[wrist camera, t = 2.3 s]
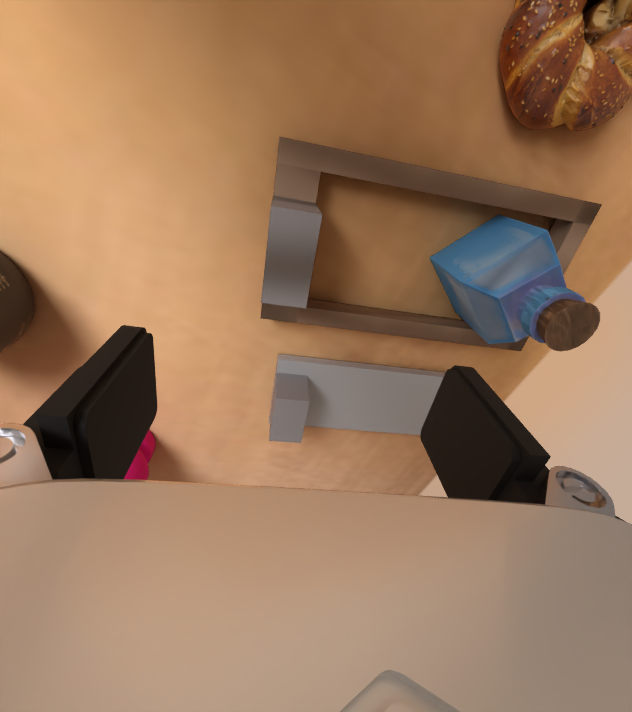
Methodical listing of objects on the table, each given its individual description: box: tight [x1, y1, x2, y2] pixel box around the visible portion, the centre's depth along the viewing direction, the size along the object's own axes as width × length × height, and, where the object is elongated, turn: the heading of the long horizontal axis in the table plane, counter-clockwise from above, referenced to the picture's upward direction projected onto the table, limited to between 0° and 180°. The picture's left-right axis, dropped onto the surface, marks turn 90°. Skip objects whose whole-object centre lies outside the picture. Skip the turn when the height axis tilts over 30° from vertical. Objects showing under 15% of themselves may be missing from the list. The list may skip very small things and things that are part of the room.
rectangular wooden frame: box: [261, 137, 602, 351], centre depth 26 cm, size 13×24×7 cm, turn 80°
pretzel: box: [500, 0, 632, 131], centre depth 21 cm, size 12×11×4 cm
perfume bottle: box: [430, 214, 600, 351], centre depth 25 cm, size 6×6×12 cm
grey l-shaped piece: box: [269, 354, 446, 443], centre depth 35 cm, size 8×20×5 cm, turn 80°
